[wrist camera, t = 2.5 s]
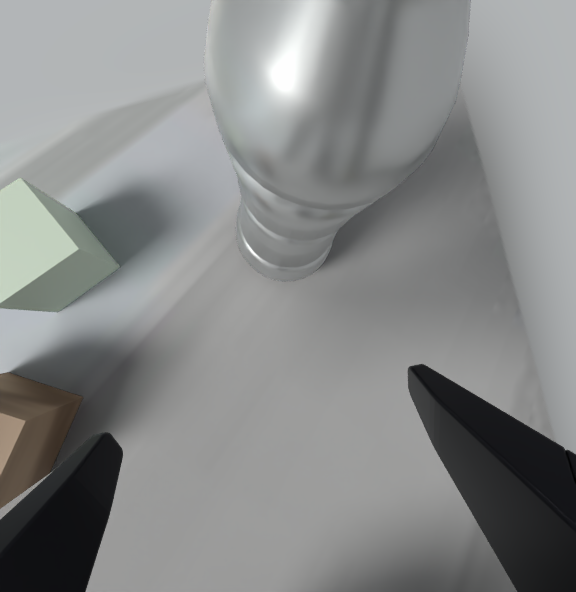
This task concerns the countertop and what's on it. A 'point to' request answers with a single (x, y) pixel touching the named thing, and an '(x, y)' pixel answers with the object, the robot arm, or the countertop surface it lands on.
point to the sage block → (45, 251)
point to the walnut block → (30, 431)
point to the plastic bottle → (326, 111)
